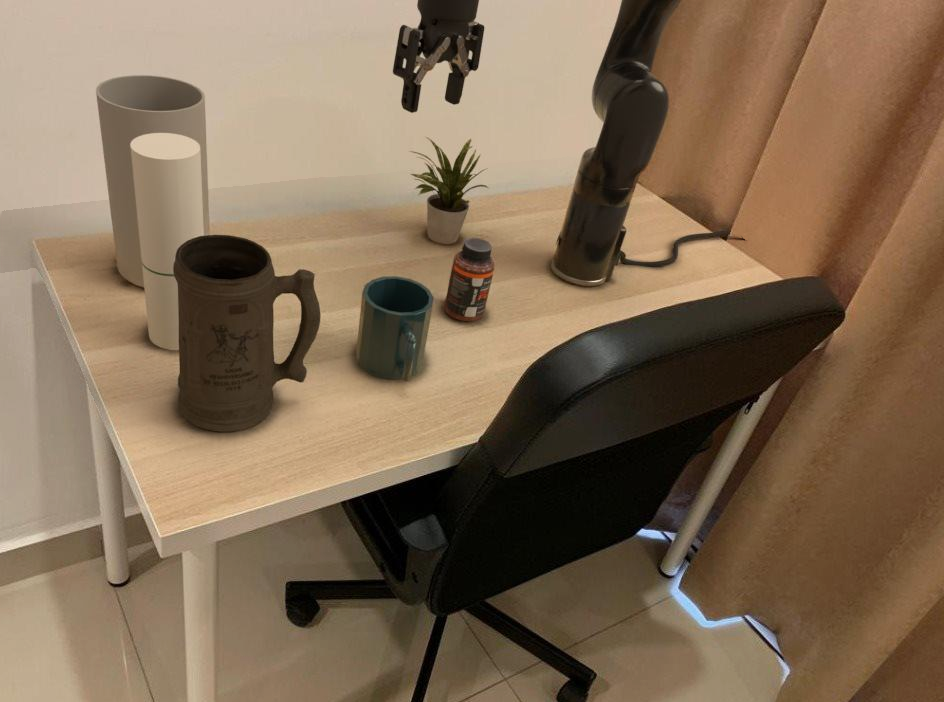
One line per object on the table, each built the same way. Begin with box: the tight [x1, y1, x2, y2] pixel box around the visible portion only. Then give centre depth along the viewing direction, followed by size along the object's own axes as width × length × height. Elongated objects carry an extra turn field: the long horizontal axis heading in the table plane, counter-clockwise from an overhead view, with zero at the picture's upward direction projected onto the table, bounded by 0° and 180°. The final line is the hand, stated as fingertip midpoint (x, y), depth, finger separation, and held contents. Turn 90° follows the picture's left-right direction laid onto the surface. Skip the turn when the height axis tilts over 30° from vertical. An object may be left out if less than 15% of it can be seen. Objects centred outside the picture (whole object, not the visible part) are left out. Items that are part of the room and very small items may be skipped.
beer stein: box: [173, 234, 322, 432], centre depth 85 cm, size 15×11×20 cm
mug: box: [355, 275, 435, 382], centre depth 97 cm, size 12×9×10 cm
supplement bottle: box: [444, 237, 496, 322], centre depth 110 cm, size 6×6×11 cm
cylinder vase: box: [95, 74, 211, 288], centre depth 102 cm, size 12×12×25 cm
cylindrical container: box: [130, 133, 204, 351], centre depth 91 cm, size 7×7×25 cm
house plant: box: [409, 136, 489, 245], centre depth 127 cm, size 14×14×16 cm
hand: (431, 106), depth 103 cm, fingers open, 8 cm apart
